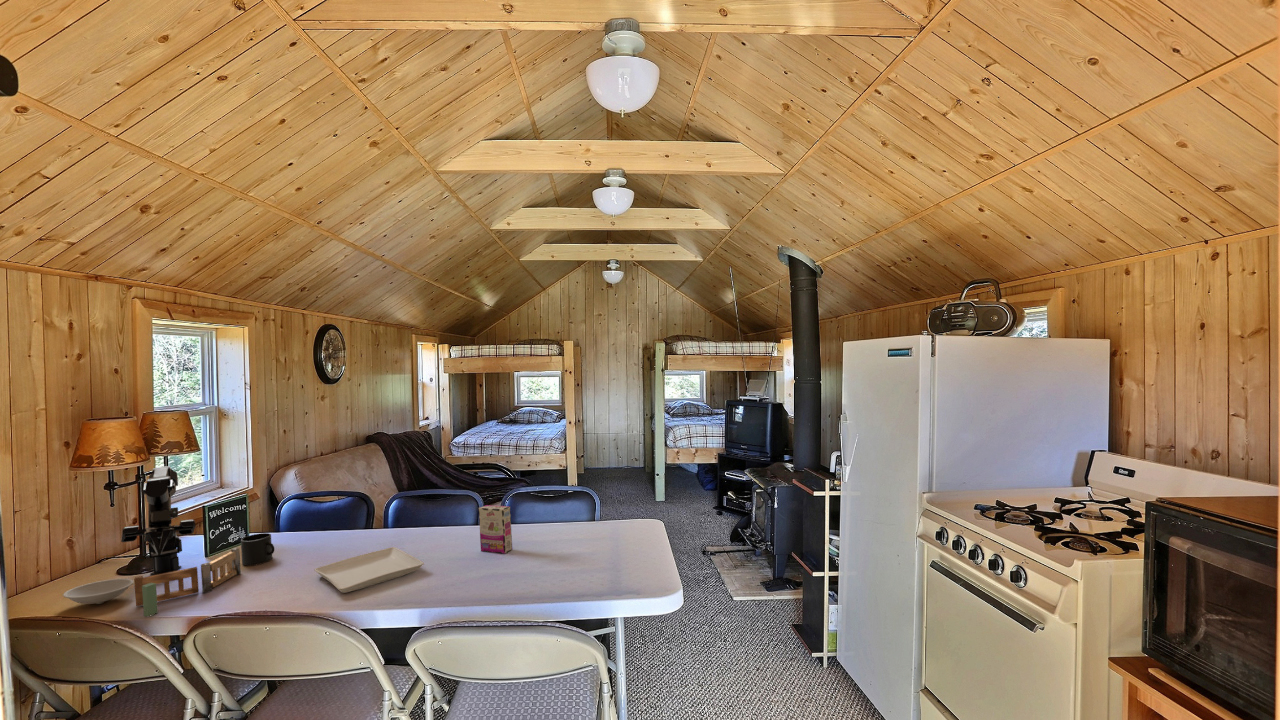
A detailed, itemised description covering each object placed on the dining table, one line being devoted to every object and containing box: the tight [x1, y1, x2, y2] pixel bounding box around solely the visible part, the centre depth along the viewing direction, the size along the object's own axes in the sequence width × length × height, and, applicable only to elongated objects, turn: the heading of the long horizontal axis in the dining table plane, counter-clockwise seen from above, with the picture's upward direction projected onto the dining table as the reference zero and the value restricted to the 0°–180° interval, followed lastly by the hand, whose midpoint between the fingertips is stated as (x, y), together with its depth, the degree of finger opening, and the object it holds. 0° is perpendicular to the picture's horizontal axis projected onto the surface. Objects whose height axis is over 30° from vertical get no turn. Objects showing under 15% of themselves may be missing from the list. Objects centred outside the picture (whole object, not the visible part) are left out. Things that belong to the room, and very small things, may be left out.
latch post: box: [142, 583, 159, 617], centre depth 173 cm, size 2×2×9 cm
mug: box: [240, 532, 275, 566], centre depth 216 cm, size 9×12×9 cm
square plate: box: [314, 546, 425, 594], centre depth 197 cm, size 27×27×4 cm
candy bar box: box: [478, 504, 513, 554], centre depth 216 cm, size 11×5×16 cm, turn 68°
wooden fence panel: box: [200, 547, 242, 594], centre depth 196 cm, size 2×17×9 cm, turn 1°
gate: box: [133, 566, 200, 607], centre depth 183 cm, size 15×2×8 cm, turn 125°
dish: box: [62, 578, 135, 605], centre depth 183 cm, size 18×14×5 cm
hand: (159, 554), depth 189 cm, fingers closed
